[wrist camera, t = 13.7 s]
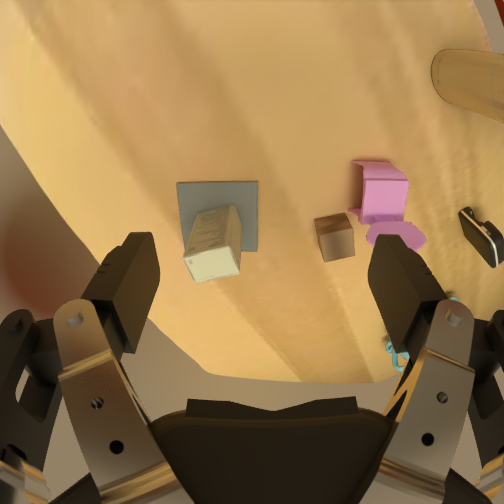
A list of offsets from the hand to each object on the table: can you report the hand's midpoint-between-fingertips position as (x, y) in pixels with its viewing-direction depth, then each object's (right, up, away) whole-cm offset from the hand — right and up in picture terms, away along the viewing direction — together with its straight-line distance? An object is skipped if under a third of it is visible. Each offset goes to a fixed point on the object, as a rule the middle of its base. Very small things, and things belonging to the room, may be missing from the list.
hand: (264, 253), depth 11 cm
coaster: (-6, +5, +36) cm, 37 cm away
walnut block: (+12, +4, +37) cm, 40 cm away
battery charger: (+40, +6, +36) cm, 54 cm away
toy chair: (+17, +10, +33) cm, 39 cm away
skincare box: (-5, +5, +36) cm, 37 cm away
